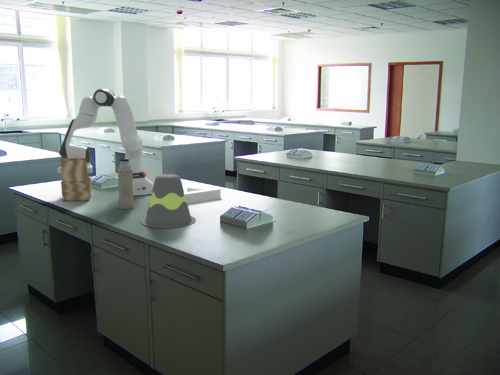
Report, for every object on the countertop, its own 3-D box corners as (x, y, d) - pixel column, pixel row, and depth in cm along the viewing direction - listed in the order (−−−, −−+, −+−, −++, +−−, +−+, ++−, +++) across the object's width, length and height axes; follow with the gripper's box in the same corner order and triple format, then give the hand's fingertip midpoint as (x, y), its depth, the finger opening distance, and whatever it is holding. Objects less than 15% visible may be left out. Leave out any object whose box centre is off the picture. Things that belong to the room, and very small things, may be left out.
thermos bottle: (122, 205, 260) (120, 158, 254) (135, 205, 259) (133, 158, 253) (117, 208, 252) (114, 160, 246) (130, 209, 251) (128, 160, 246)
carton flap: (86, 157, 267) (86, 157, 266) (87, 180, 269) (87, 180, 268) (60, 158, 263) (60, 158, 262) (62, 181, 265) (62, 181, 265)
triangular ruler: (179, 205, 264) (179, 195, 263) (158, 197, 284) (158, 188, 283) (220, 198, 283) (220, 189, 282) (198, 192, 303) (198, 182, 301)
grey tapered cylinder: (160, 212, 246) (158, 169, 242) (205, 217, 236) (204, 173, 232) (129, 224, 221) (127, 177, 216) (178, 231, 211) (177, 182, 206)
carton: (92, 195, 285) (91, 176, 283) (90, 200, 272) (89, 181, 269) (65, 196, 281) (64, 177, 279) (62, 201, 267) (60, 181, 265)
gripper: (58, 163, 276) (55, 166, 263) (93, 163, 281) (91, 166, 268) (59, 173, 277) (55, 177, 264) (93, 172, 282) (91, 176, 269)
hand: (73, 171), depth 266 cm, fingers closed, pressing on carton flap
